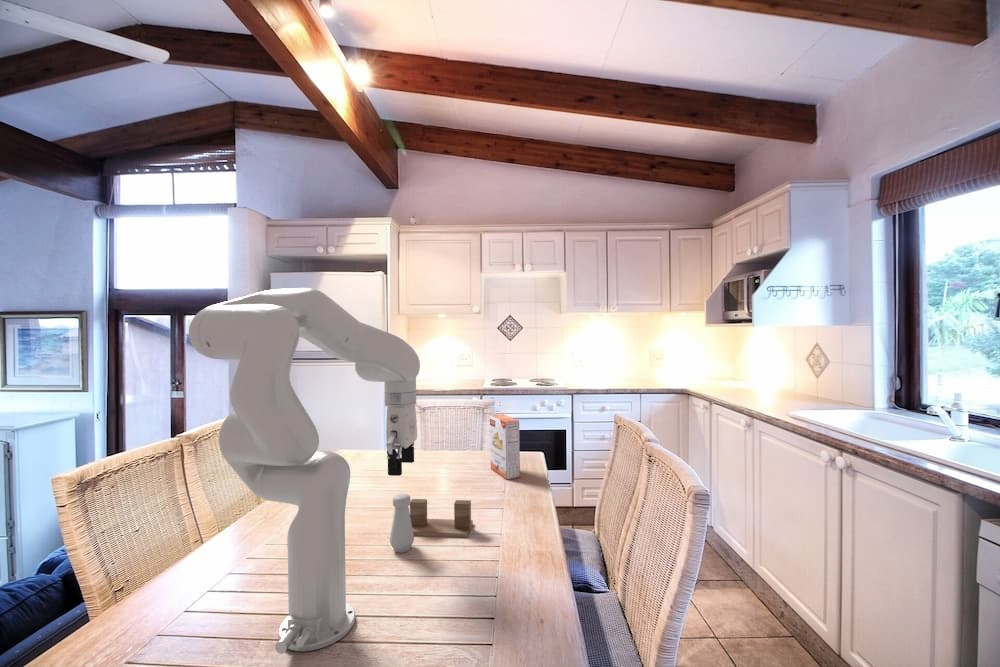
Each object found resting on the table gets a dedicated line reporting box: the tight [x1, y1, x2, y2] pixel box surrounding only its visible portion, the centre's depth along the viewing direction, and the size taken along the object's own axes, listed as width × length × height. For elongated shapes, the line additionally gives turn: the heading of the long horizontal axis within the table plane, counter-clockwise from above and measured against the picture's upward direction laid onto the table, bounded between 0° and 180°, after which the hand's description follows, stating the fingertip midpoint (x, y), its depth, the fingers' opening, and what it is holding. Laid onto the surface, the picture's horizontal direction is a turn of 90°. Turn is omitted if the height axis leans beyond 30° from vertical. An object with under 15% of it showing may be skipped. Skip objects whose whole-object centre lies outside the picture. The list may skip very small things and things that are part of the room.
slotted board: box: [409, 498, 474, 538], centre depth 118 cm, size 8×16×8 cm, turn 84°
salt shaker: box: [389, 493, 415, 554], centre depth 107 cm, size 6×6×13 cm
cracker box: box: [489, 413, 521, 481], centre depth 163 cm, size 14×6×21 cm, turn 25°
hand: (401, 468), depth 107 cm, fingers open, 9 cm apart
